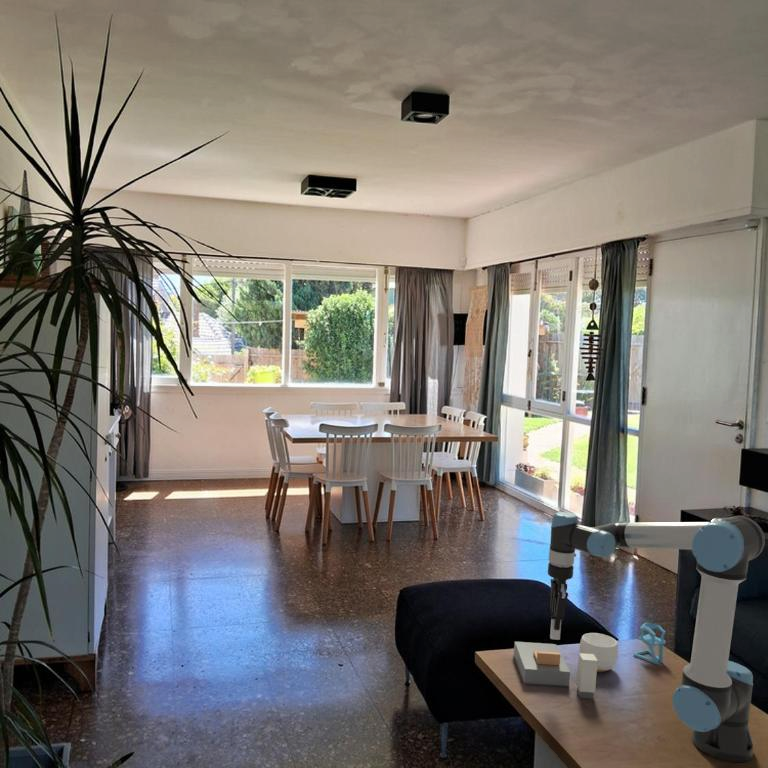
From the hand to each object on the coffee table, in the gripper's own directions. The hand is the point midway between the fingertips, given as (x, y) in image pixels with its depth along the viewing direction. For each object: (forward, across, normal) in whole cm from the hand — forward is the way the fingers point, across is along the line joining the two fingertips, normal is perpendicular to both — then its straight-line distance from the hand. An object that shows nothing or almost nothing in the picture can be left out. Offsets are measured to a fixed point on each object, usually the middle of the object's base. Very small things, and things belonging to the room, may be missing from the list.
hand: (554, 638), depth 223 cm
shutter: (+11, +9, 0) cm, 14 cm away
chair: (+16, +27, -40) cm, 51 cm away
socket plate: (+16, +12, +1) cm, 20 cm away
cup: (+16, +17, -19) cm, 30 cm away
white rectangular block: (+16, -2, -10) cm, 19 cm away
